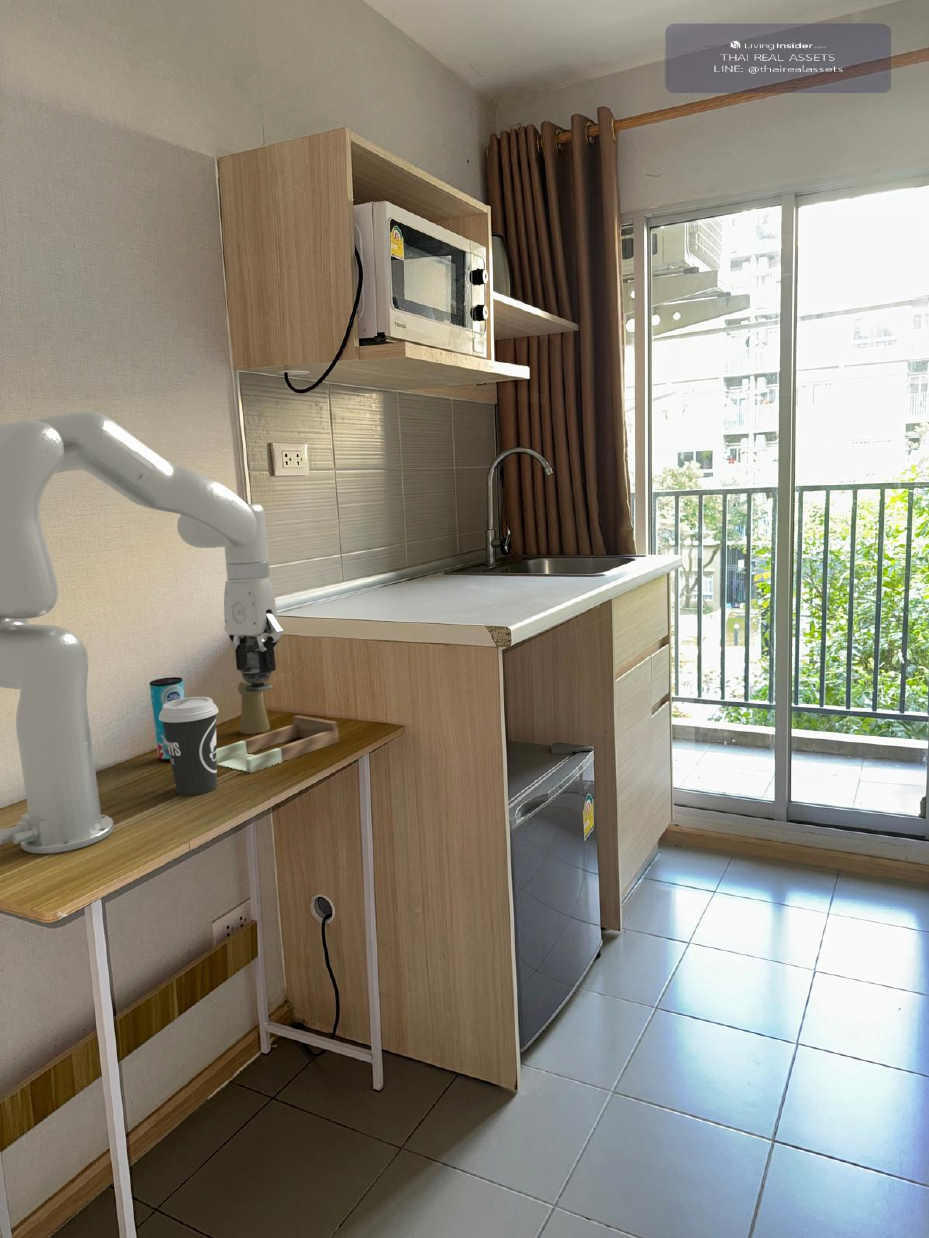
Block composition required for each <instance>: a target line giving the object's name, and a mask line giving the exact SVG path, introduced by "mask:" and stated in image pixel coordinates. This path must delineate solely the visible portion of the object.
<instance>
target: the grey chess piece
mask: <svg viewBox="0 0 929 1238" xmlns="http://www.w3.org/2000/svg"><path fill="white" fill-rule="evenodd" d="M246 645H247V648H246V649H245V651H246V652H247V665H246V667H245V668H244V669H242V670H239V673H241V677H242V678H243V679H242V680H245V681H246V682H247V683H250V684H251V685H248V686H246V687H245V688H244V689H243V690H244V691H249V692H254V691H263V690H264V691H267V690H271V689H273V685H272V684H270V683H267V682H268V681H269V680H270V678H271V675H272V671H271V672H266V673H260V669H259V657H258V651H261V650H260V647H259V644H258V641H257V638H256V636H246ZM264 691H263V692H264Z"/></svg>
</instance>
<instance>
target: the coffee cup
mask: <svg viewBox="0 0 929 1238" xmlns="http://www.w3.org/2000/svg"><path fill="white" fill-rule="evenodd" d="M219 711H220V710H219V708H218V706H217V704H215V703H214V700H213V699H212V698H211V697H208V696H190V697H189V696H188V697H185V698H181V699H176V700H172V701H169V702H167V703H165V704H163V707H162V711H161V712H160V714H159V720H160V721H162V723H163V727H164V732H165V737H166V741H167V746H168V751H169V756H170V760H171V761H170V765H171V769H172V774H173V779H174V780H173V781H174V785H175V788H176V793H177V794H178V795H180V796H187V797H188V796H189V797H191V796H198V795H204V794H208V793H211V792H212V790H213V791H214V790H216V789H217V787H218V767H217V766H218V765H217V753H216V749H217V714H218V713H219ZM215 788H216V789H215Z"/></svg>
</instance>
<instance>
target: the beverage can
mask: <svg viewBox="0 0 929 1238" xmlns="http://www.w3.org/2000/svg"><path fill="white" fill-rule="evenodd" d="M149 691H150V700H151V708H152V709H151V710H152V717H153V725H154V726H153V727H154V734H155V742H156V750H157V757H158V759H159V760H160V761H162V762H171V760H170V756H169V751H168V746H167V741H166V737H165V732H164V727H163V723H162V721H160V720H159V714H160V712H161V711H162V707H163V704H165V703H167V702H169V701H172V700H176V699H181V698H186V697H185V691H184V683H183V678H182V677H176V676H175V677H162V678H157V679H154V680H151V681H150V682H149Z"/></svg>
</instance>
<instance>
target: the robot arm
mask: <svg viewBox="0 0 929 1238" xmlns="http://www.w3.org/2000/svg"><path fill="white" fill-rule="evenodd" d="M81 470H82V471H84V472H88V473H89V474H91V475H92V476H93V477H95V478H97V479H98V480H99V481H101V482H103V483H104V484H105V485H107V486H109V487H110V488H112V489H113V490H115V491H116V492H117V493H119V494H120V495H122V496H123V497H125V498H126V499H128V500H129V501H131V502H132V503H134V504H135V505H137V506H142V507H144V508H146V509H147V508H148V509H152V510H154V511H162V512H166V513H167V512H168V513H174V514H178V515H179V517H178V520H177V526H176V528H177V532H178V535H179V537H180V538H181V540H182V541H183V542H185V543H186V544H187V545H189V546H192V547H194V548H199V549H201V548H202V549H208V548H209V549H210V548H211V549H212V548H214V549H215V548H224V555H225V568H226V578H227V580H225V585H224V593H223V615H224V617H223V618H224V630H225V632H226V634H227V635H228V636H229V639H230V641H231V642H232V648H233V649H234V651H235V664H236V670H237V671H240V670H242V669H244V668H245V667H246V665H247V652H246V651H245V649H246V648H247V645H246V636H256V638H257V641H258V644H259V647H260V650H261V651H258V657H259V669H260V673H266V672H271V673H272V672H274V671H276V657H275V650H276V649H277V643H278V642H279V639H280V638H281V636H282V635H283V632H284V631H283V628H282V627H281V626H280V624H279V623H278V615H277V614H278V613H277V606H276V599H275V593H274V588H273V584H272V581H271V578H270V577H271V576H270V566H269V565H270V563H269V551H268V550H269V549H268V542H267V541H268V540H267V528H266V516H265V515H266V513H265V509H264V507H263V506H262V505H261V504H258V503H246V502H245V501H244V500H243V499H242V498H240V496H238V495H236V494H235V493H234V492H233V491H232V490H230V489H229V488H227V487H226V486H224V485H223V484H222V483H220V482H217V481H215V480H214V479H212V478H209V477H207V476H205V475H202V474H199V473H197V472H195V471H192V470H191V469H187V468H186V467H183V466H181V465H178V464H176V463H173V462H171V461H168V460H166V459H165V458H164V457H162V456H161V455H159V454H158V453H157V452H155V451H154V450H153V449H152V448H150V447H149V446H147V445H146V444H144V443H143V442H142V441H140V440H139V438H137V437H135V436H134V435H133V434H132V433H130V432H129V431H127V430H126V429H125V428H123V427H122V426H121V425H120V424H118V423H117V422H115V421H114V420H113V419H111V418H110V417H108V416H107V415H106V414H102V413H100V412H96V411H92V410H91V411H89V410H85V411H79V412H77V411H76V412H72V413H66V414H65V413H64V414H58V415H54V416H49V417H44V418H43V417H42V418H39V419H35V420H18V421H12V422H7V423H2V424H0V688H4V689H12V690H13V689H14V690H19V692H20V693H19V699H18V703H17V707H16V713H15V727H16V737H17V741H18V743H17V744H18V749H19V750H18V751H19V756H20V765H21V770H22V777H23V785H24V792H25V798H26V807H27V813H25V814H22V815H21V821H19V822H17V823H16V825H15V826H12V827H10V828H9V827H7V828H4V829H1V830H0V845H4V844H7V843H10V842H13V843H14V844H15V845H17V844H20V848H21V849H22V850H23V851H25V852H26V853H27V852H28V853H31V854H42V855H43V854H45V855H46V854H57V853H64V852H69V851H73V850H78V849H81V848H84V847H88V846H90V845H94V844H95V843H97V842H100V841H102V840H104V839H105V838H107V837H108V836H109V835H111V834H112V832H113V831H114V828H115V826H114V820H113V818H112V817H110V816H108V815H104V814H102V812H101V811H102V810H101V803H100V797H99V796H100V794H99V787H98V781H97V774H96V772H97V771H96V765H95V757H94V749H93V742H92V734H91V727H90V720H89V719H90V718H89V712H88V711H89V710H88V709H89V708H88V696H87V695H88V694H87V691H88V690H87V689H88V687H87V686H88V676H89V655H88V652H87V649H86V646H85V644H84V643H83V641H82V640H81V638H80V637H79V636H78V635H77V634H75V633H74V632H73V631H71V630H69V629H67V628H63V627H61V626H58V625H57V626H56V625H50V624H48V625H47V624H29V622H28V621H29V620H28V619H35V618H39V617H42V616H44V615H47V614H48V613H49V612H50V611H51V610H53V608H55V606H56V604H57V602H58V598H59V585H58V581H57V577H56V573H55V570H54V566H53V563H52V559H51V556H50V552H49V549H48V546H47V543H46V539H45V535H44V530H43V527H42V521H41V514H40V509H41V508H40V507H41V506H40V505H41V501H42V496H43V494H44V491H45V490H46V488H47V486H48V484H50V483H49V482H50V481H51V480H52V478H53V477H54V476H55V475H56V474H59V473H63V472H72V471H81ZM264 638H266V640H265V639H264Z"/></svg>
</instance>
